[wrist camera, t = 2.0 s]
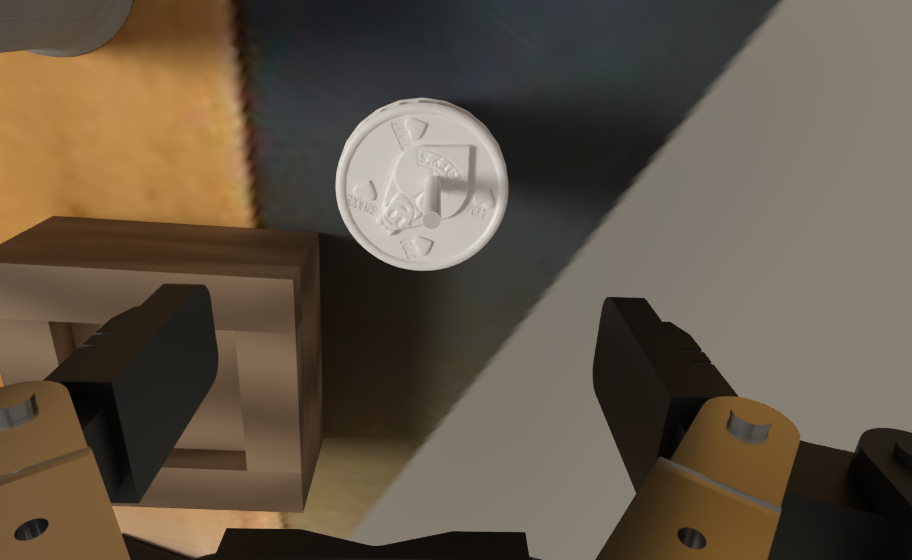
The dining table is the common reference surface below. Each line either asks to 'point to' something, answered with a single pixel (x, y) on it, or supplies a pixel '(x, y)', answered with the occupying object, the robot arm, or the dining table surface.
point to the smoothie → (422, 184)
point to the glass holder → (60, 25)
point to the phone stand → (148, 552)
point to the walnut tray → (237, 333)
